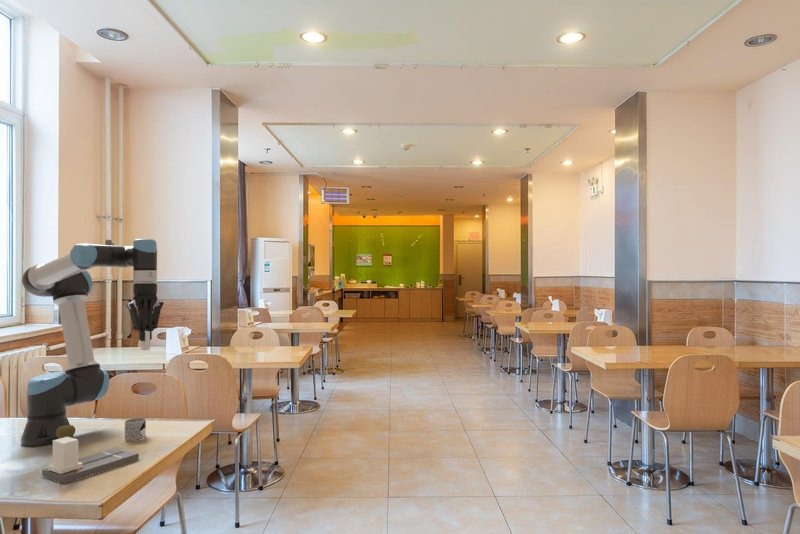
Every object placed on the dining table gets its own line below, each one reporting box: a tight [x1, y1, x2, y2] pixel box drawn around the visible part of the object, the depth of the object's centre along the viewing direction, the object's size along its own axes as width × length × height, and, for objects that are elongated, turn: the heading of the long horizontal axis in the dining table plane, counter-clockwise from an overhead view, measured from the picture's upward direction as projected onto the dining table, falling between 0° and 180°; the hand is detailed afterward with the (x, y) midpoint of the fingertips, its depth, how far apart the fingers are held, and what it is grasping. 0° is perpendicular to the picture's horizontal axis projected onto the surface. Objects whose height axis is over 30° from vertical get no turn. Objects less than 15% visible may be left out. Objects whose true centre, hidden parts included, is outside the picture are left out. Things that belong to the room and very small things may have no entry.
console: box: [41, 447, 140, 485], centre depth 156 cm, size 22×12×2 cm, turn 150°
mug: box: [124, 417, 147, 442], centre depth 187 cm, size 10×7×7 cm, turn 22°
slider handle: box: [47, 437, 83, 474], centre depth 149 cm, size 6×7×8 cm
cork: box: [56, 424, 76, 439], centre depth 163 cm, size 6×6×11 cm
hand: (145, 349), depth 181 cm, fingers closed
